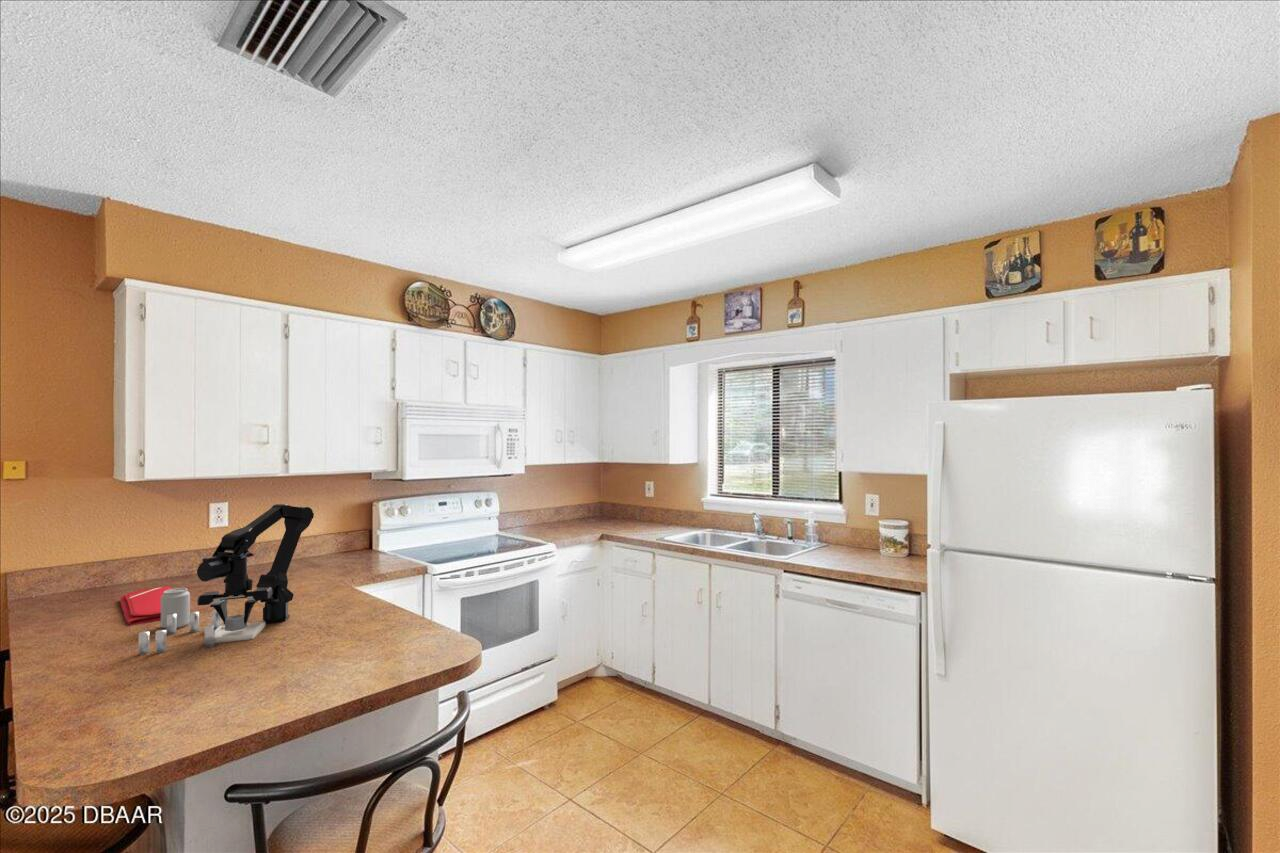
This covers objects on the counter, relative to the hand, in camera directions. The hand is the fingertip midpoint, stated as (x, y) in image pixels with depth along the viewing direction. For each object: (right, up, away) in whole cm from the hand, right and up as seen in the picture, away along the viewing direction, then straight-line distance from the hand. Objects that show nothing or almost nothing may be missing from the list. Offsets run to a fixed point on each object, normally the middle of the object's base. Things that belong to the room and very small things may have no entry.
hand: (236, 623), depth 181 cm
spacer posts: (-11, -4, -4) cm, 13 cm away
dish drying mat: (-52, -5, +30) cm, 60 cm away
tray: (0, -4, 0) cm, 4 cm away
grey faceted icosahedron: (0, -2, 0) cm, 2 cm away
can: (-26, -4, +9) cm, 28 cm away
